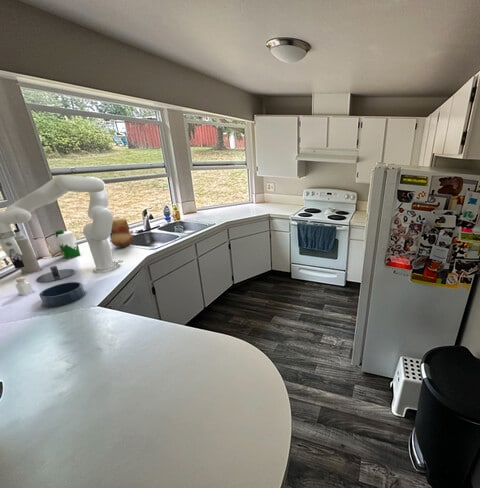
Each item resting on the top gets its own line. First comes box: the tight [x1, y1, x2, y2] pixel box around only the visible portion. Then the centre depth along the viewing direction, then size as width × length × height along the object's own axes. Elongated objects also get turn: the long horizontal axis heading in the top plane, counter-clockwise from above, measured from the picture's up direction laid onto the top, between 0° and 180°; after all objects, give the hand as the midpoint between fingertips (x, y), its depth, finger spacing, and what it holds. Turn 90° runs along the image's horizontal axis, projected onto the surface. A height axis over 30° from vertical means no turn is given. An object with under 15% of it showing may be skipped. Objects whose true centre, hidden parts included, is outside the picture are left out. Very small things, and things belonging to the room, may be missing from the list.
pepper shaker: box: [14, 276, 34, 296], centre depth 136 cm, size 4×4×10 cm
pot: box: [38, 281, 86, 308], centre depth 132 cm, size 16×16×6 cm
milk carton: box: [54, 229, 81, 259], centre depth 182 cm, size 9×9×20 cm
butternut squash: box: [110, 215, 134, 248], centre depth 200 cm, size 14×13×25 cm
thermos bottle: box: [13, 228, 41, 275], centre depth 156 cm, size 8×8×28 cm
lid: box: [36, 265, 76, 283], centre depth 154 cm, size 17×17×7 cm
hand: (18, 265), depth 133 cm, fingers open, 9 cm apart
